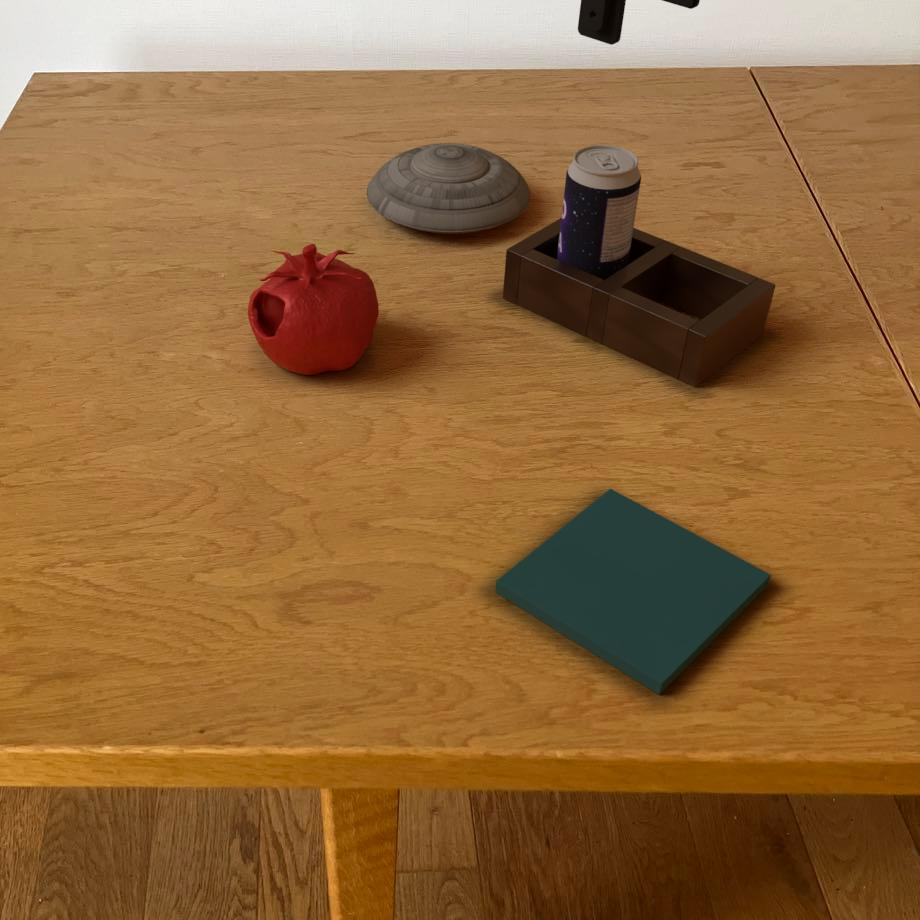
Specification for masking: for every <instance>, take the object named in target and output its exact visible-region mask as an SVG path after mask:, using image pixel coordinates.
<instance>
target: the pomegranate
mask: <svg viewBox="0 0 920 920" xmlns="http://www.w3.org/2000/svg"><path fill="white" fill-rule="evenodd" d="M317 250H318V249H317V245H316V243H310V244H307V245H306V246H304V247H303V248H302V252H301V253H299V254H294V255H292V254H291V253H289V252H287V251H277V250H272V253H275V254H280V255H283V257H284V258H285V261H284V262H283V263H282V264H281V265H280V266H279V267H277V268H276V269H275V270H274V271H272V272H270V273H268V274H267V275H266V276H265V277H263V278H261V279H258V280H259V281H261V282H264V283H263V284H262V285H260V287H258V288H256V289H255V290H253V291H252V293H251V294H250V296H249V301H248V305H247V318H248V319H247V320H248V322H249V325H250V327H251V330H252V332H253V334H254V337H255V340H256V342H257V344H258V345H259V347H260V348H261V349H262V351H263V353H264V354H265V355H266V357H267V358H268V359H269V360H270V361H271V362H272V363H274V364H275V365H277V366H279V367H281V368H283V369H285V370H286V371H289V372H292V373H296V374H300V375H306V376H311V375H312V376H313V375H319V374H321V373H324V372H339V371H344V370H347V369H348V368H350V367H353V366H354V365H355V364H356V363H357V362H358V361H359V360H360V359H361V357H362V356H363V354H364V352H365V351H366V349H367V348H368V347H369V345H370V344H371V342H372V340H373V336H374V333H375V328H376V326H377V322H378V319H379V314H380V309H379V307H380V306H379V305H380V304H379V301H378V295H377V291H376V288H375V284H374V281H373V280H372V278H371V277H370V275H369V274H368V273H367V272H365V271H364V270H362V269H360V268H357V267H354V266H352V265H350V264H348V263H347V262H345V261H343V260H340V259H338V258H337V256H342V255H355V254H356V252H348V251H345V250H341V249H337V250H335V251H333V252H331V253H330V254H327V255H325V254H322V253H320V252H318V251H317Z"/></svg>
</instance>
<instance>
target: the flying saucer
mask: <svg viewBox="0 0 920 920" xmlns="http://www.w3.org/2000/svg"><path fill="white" fill-rule="evenodd" d="M531 195H532V193H531V189H530V187H529V185H528V183H527V181H526V179H525V178H524V177H523V175H522V173H520V172H519V170H518V169H517V168H516V167H515V166H514V165H512V163H511V162H509V161H508V160H507V159H505V158H503V157H502V156H500V155H498V154H496V153H494V152H492V151H489V150H486V149H484V148H481V147H478V146H474V145H470V144H464V143H455V142H441V143H440V142H439V143H430V144H426V145H420V146H417V147H414V148H411V149H409V150H405V151H404V152H401V153H399V154H397V155H395V156H394V157H392V158H391V159H389V160H388V161H387V162H385V163H384V164H383V165H382V166H381V167H380V168H379V169H378V170H377V171H376V172H375V174H374V175H373V176H372V178H371V179H370V181H369V182H368V184H367V187H366V197H367V201H368V202H369V204H370V205H371V207H372V208H373V209H374V210H375V211H376V212H377V213H378V214H380V216H382V217H384V218H385V219H387V220H388V221H391V222H393V223H395V224H397V225H399V226H402V227H405V228H408V229H412V230H416V231H420V232H426V233H433V234H443V235H444V234H446V235H447V234H449V235H450V234H451V235H455V234H456V235H457V234H459V235H460V234H471V233H477V232H483V231H487V230H491V229H494V228H497V227H500V226H502V225H505V224H507V223H509V222H510V221H512V220H515V219H516V218H517V217H518V216H520V215H521V214H522V213H523V212H524V211H526V209H527V208H528V206H529V205H530V203H531Z"/></svg>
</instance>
